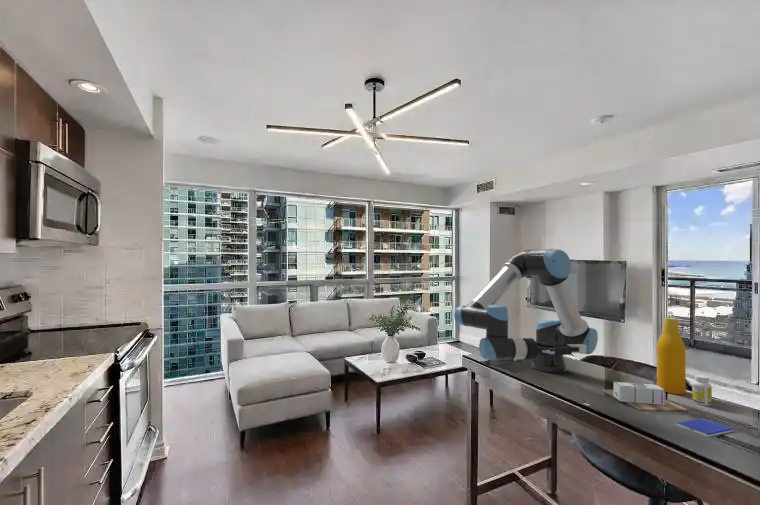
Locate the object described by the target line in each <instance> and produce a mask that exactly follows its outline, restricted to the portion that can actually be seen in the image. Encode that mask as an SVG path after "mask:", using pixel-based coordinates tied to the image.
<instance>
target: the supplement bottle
mask: <svg viewBox="0 0 760 505" xmlns="http://www.w3.org/2000/svg"><path fill="white" fill-rule="evenodd" d="M709 382H710V378H709V377H708V376H706V375H702V374H701V375H700V374H694V380H693V381H692V382H691V384H692V385H691V386H692V387H691V390H692V391H691V394H692V403H694V404H696V405H700V406H706V407H709V406H710V407H711V406H712V405H713V396H712V395H713V392H712V384H710V383H709Z"/></svg>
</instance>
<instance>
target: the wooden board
mask: <svg viewBox="0 0 760 505" xmlns="http://www.w3.org/2000/svg"><path fill="white" fill-rule="evenodd" d="M601 392H603V393H604V394H607V395H609V396H611V397H613V398H615V397H614V396H613V389H601ZM624 404H628V406H631V407H632V408H635V409H637V410H638V411H676V412H678V411H685V412H686V411H688V409H687V408H685V407H683V406H681V405H678V404H676V403H675V402H674V403H673V402H671V401H669V400H667V399H665V404H664V405H658V404H645V403H632V402H624Z"/></svg>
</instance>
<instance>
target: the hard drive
mask: <svg viewBox="0 0 760 505" xmlns="http://www.w3.org/2000/svg"><path fill="white" fill-rule="evenodd" d="M676 426H677V427H680V428H682V429H685V430H688V431H691V432H692V433H695V434H698V435H701V436H705V437H707V438H708V437H713V436H717V435H724V434H727V433H731V432H734V429H733V428H732V427H730V426H728V425H725V424H721V423H719V422H716V421H713V420H710V419H706V418H704V417H701V418H696V419H690V420H685V421H680V422H676Z"/></svg>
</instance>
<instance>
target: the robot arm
mask: <svg viewBox="0 0 760 505" xmlns="http://www.w3.org/2000/svg"><path fill="white" fill-rule="evenodd" d="M571 265H572V262H571V259H570V257H569V255H568V253H566V252H565V251H564V250H562V249H555V248H548V249H524V250H521V251H519V252H518V253H515V254H514V255H512V256H511V257H510V258H508V259H507V260H506V261H504V262H503V264H502V265H501V266H500V270H499V271H498V273H496V274H495V276H493V277H492V279H491V280H490V281H489V282H488V283H487V284H485V286H484V287H483V288H482V289H481V290H480V291H479V292H478V293H477V294H476V295H475V296H474V297H473V299H472V300H471V301H470V302H469V303H468V304H467V305H459V306H458V307H456V308H455V310H454V314H453V316H454V320H455V322H456V323H457V324H458V325H461V326H464V327H471V328H477V329H482V330H485V331H486V332H485V333H486V334H485V335H486V336H485V337H484V338H482V337H481V339H480V340H479V344H478V349H479V350H478V351H479V354H480V356H481V357H482V358H483V360H484V359H485V360H494V361H497V360H498V361H499V360H500V361H501V360H502V361H503V360H513V361H515V362H516V361H517V360H532V362H531V367H532V368H533V369H534V370H537V371H540V372H546V373H555V374H556V373H557V374H561V373H566V372H567V364H566V361H565V357H564V356H567V355H568V356H571V355H572V354H581V355H591V354H592V353H594V351H595V350H596V348H597V344H598V340H599V335H598V330H597V329H596V328H593V327H589V324H588V322H587V321H586V320H585V319H583V318H582V317H581V314H580V311H579V309H578V306H577V302H576V301H575V298H574V295H573V293H572V291H571V288H570V286H569V283H568V281H567V280H568V278H569V276H570V274H571V270H572V266H571ZM525 277H531V278H532V277H534V278H537V279H538V281H539V283H540V285H542V286H544V287H545V288H546V290H547V294H548V296H549V298H550V300H551V302H552V305H553V308H554V310H555V313H556V315H557V318H558V319H557V320H556V319H555V320H539V321H538V322H536V326H535V328H536V329H535V334H536V335H535V336H536V338H535V339H534V338H533V337H529V338H528V337H527V338H526V337H523V338H522V337H509V314H508V312H509V310H508V307H507V306H506V305H503V304H497V303H498V301H499V300H501V298H502V297H503V295H504V294H505V293H506V292H508V290H509V289H510V288H511V287H512V286H513V284H515V283H518V282H519V281H521V279H522V278H525Z"/></svg>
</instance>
